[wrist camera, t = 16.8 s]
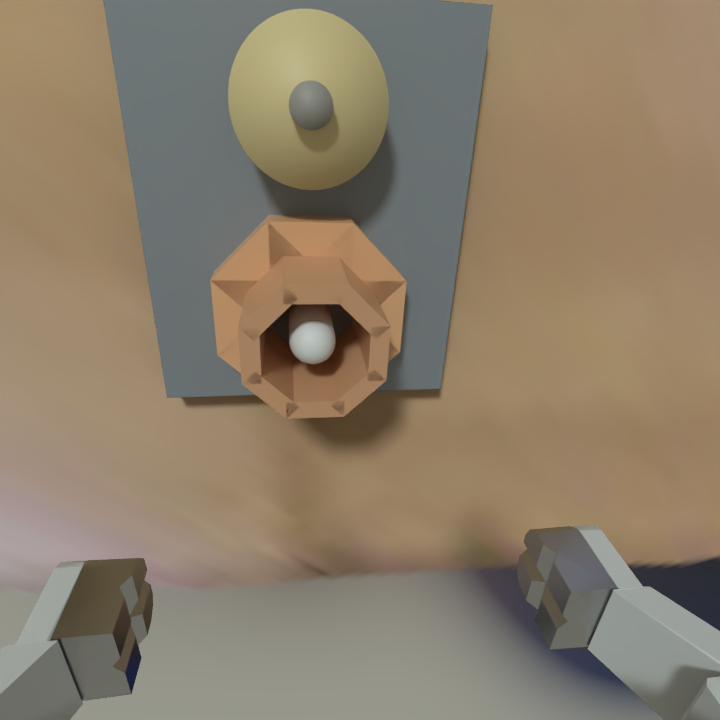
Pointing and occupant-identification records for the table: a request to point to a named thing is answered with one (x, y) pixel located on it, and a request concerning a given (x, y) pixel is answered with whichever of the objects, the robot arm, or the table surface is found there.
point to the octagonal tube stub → (308, 286)
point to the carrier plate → (242, 195)
